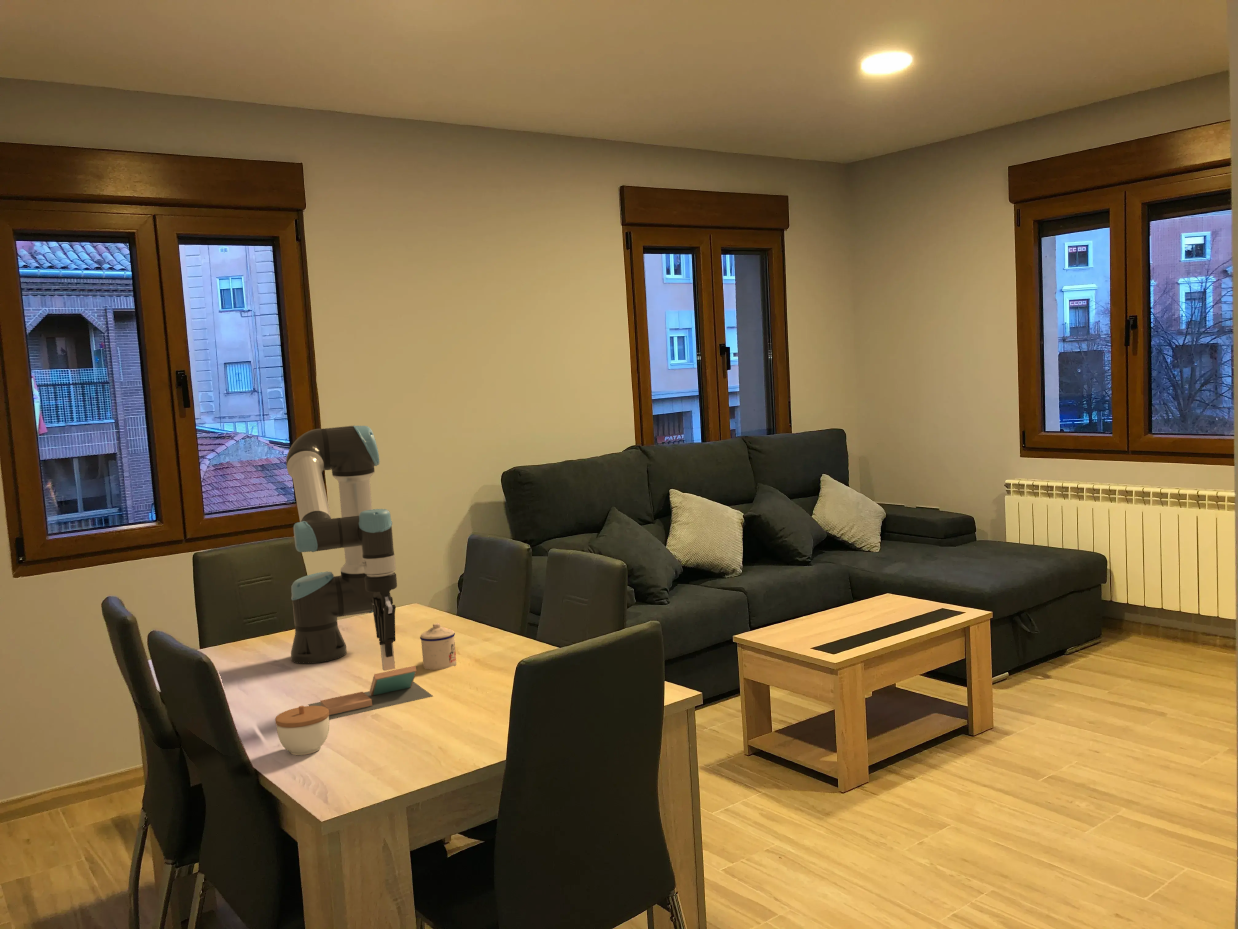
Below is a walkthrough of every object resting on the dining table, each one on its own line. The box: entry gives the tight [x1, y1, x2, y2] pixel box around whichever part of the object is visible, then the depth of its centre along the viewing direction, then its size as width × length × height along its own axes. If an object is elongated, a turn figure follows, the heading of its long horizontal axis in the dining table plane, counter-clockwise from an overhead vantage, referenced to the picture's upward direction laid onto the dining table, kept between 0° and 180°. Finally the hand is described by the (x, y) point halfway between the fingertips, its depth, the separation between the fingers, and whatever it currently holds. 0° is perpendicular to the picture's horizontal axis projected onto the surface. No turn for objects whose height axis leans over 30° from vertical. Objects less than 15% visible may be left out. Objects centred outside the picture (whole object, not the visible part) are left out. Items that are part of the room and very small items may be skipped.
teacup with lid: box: [419, 622, 457, 671], centre depth 265 cm, size 12×9×12 cm
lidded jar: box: [274, 705, 330, 756], centre depth 208 cm, size 11×11×9 cm
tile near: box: [319, 691, 372, 715], centre depth 234 cm, size 2×10×8 cm
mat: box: [307, 681, 434, 721], centre depth 238 cm, size 15×26×1 cm, turn 120°
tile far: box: [369, 665, 417, 696], centre depth 241 cm, size 2×10×8 cm
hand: (388, 668), depth 243 cm, fingers closed
